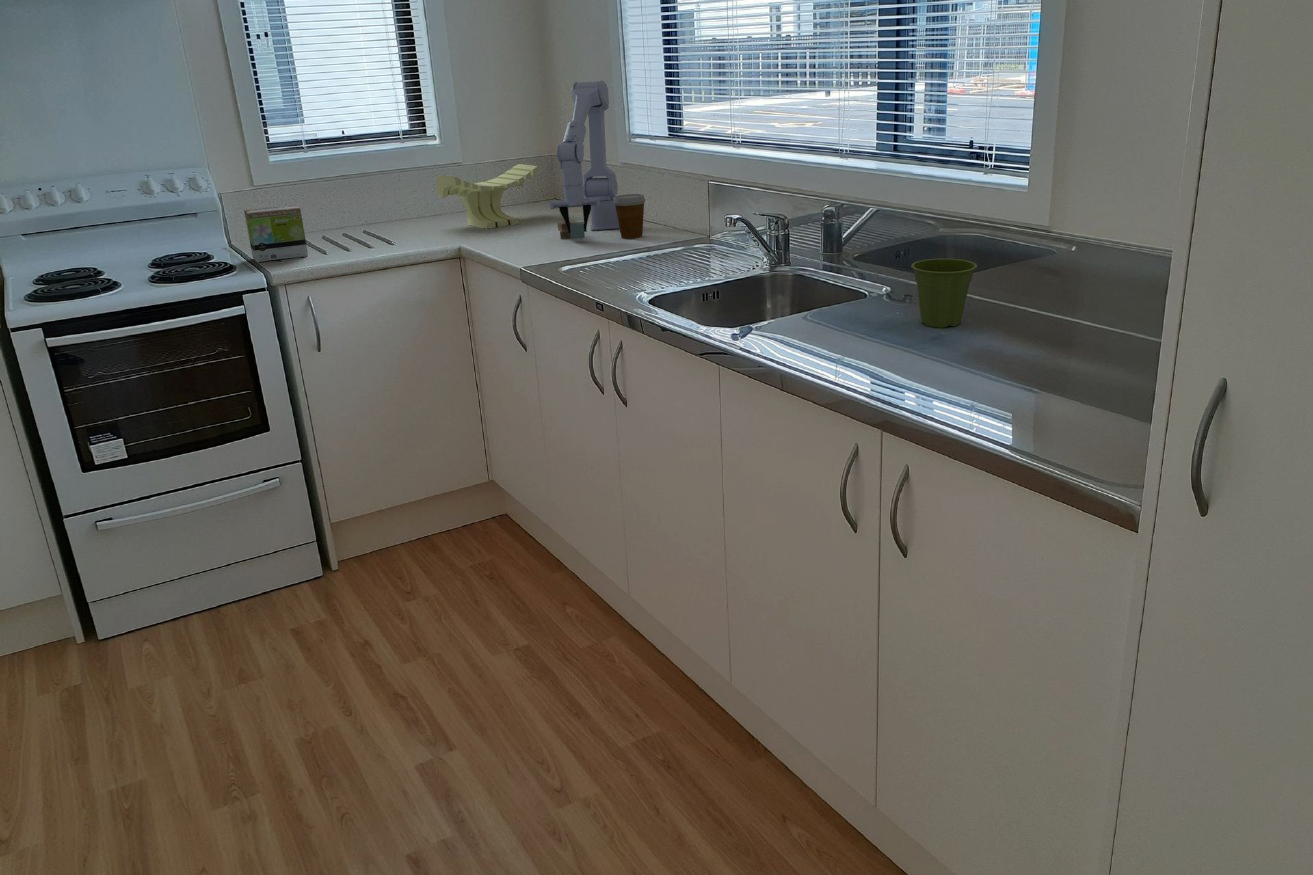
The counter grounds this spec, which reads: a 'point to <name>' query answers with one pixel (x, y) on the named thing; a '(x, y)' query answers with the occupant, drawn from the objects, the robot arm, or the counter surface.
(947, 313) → the plant pot
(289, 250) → the tea box
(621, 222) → the disposable coffee cup
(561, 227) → the top slab
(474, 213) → the slatted curved stool
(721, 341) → the counter surface
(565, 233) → the bottom slab
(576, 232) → the cube
